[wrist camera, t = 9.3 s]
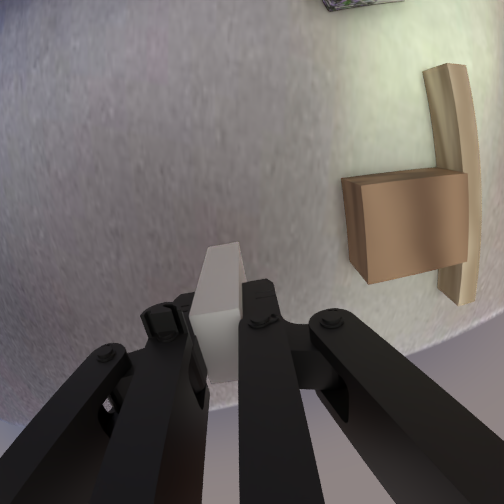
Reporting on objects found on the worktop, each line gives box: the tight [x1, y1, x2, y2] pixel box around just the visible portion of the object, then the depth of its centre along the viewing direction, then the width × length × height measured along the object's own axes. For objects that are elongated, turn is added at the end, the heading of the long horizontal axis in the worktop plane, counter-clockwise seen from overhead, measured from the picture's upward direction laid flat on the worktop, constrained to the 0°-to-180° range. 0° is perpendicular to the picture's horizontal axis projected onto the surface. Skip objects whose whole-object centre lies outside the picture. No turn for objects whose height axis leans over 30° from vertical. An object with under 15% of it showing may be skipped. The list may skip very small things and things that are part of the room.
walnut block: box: [341, 167, 469, 285], centre depth 23 cm, size 9×7×5 cm
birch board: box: [423, 63, 482, 306], centre depth 22 cm, size 2×20×4 cm, turn 10°
